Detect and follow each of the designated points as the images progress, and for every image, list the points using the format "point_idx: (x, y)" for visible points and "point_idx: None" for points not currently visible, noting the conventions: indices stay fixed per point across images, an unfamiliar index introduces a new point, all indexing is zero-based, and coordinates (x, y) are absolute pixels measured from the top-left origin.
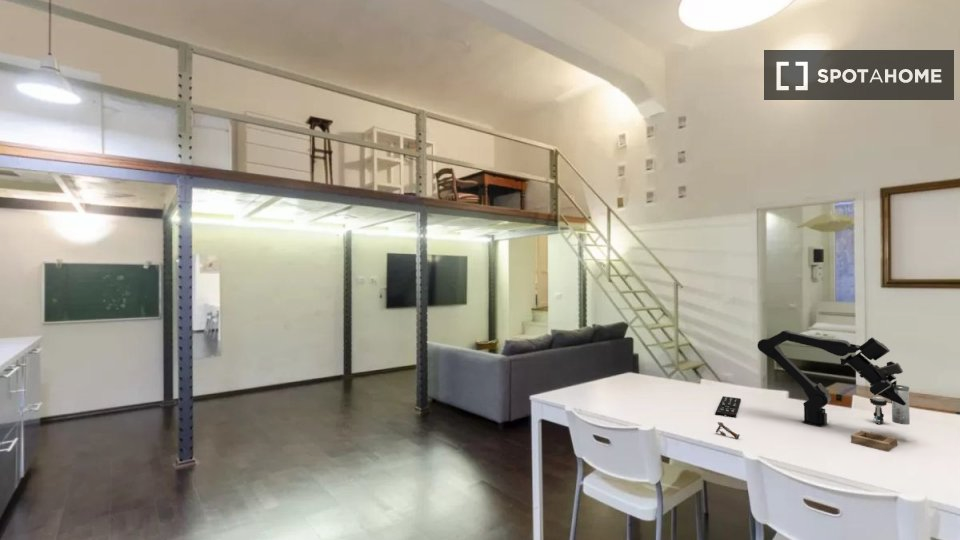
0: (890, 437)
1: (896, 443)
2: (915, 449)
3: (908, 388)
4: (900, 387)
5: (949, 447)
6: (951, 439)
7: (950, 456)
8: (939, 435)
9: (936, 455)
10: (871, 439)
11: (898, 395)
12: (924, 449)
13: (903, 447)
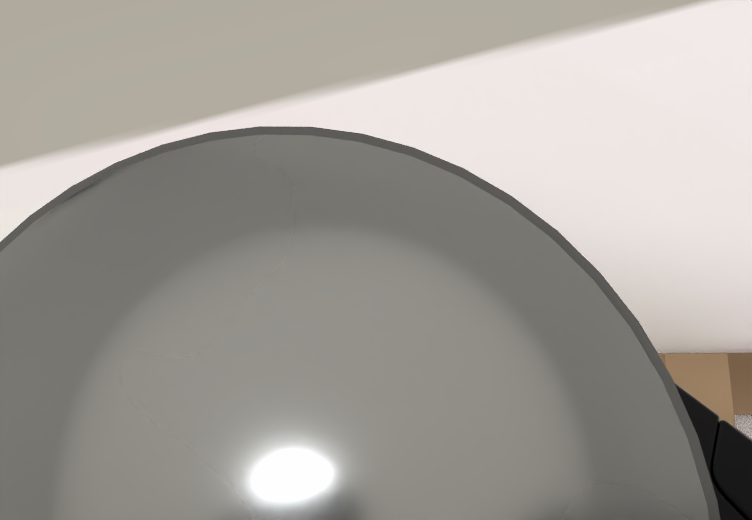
0: (705, 403)
1: (683, 353)
2: (621, 233)
3: (325, 146)
4: (678, 434)
5: (311, 106)
6: (57, 155)
7: (572, 39)
8: (4, 234)
9: (646, 99)
10: None
11: (723, 423)
12: (550, 193)
13: (655, 307)
